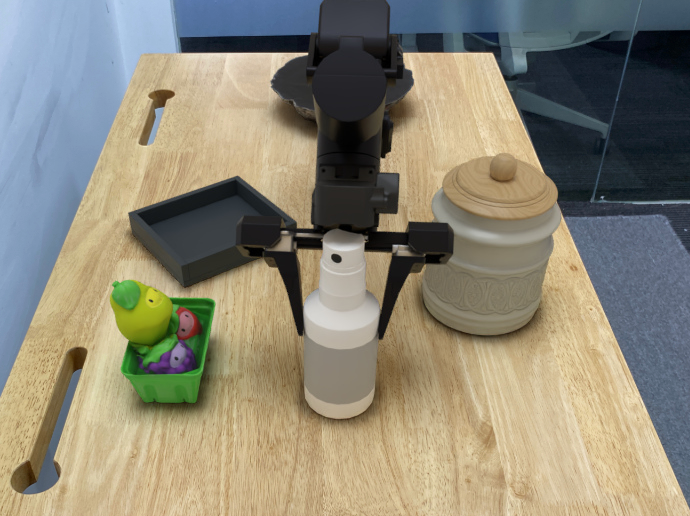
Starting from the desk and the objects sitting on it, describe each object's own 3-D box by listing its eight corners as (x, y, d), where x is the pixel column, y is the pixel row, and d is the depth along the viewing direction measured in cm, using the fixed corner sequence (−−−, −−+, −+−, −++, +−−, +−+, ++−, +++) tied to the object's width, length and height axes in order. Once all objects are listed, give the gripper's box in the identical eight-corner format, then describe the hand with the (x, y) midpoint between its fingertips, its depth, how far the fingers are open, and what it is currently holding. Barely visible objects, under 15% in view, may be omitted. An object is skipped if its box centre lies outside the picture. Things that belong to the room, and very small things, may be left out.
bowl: (417, 142, 112) (420, 109, 109) (267, 141, 112) (265, 107, 109) (406, 80, 128) (409, 49, 125) (275, 79, 128) (274, 47, 125)
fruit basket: (207, 413, 73) (194, 322, 66) (115, 412, 74) (91, 320, 66) (221, 335, 82) (211, 246, 74) (137, 334, 82) (118, 244, 74)
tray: (239, 195, 102) (238, 175, 100) (297, 243, 94) (297, 221, 92) (131, 233, 95) (127, 212, 93) (184, 287, 88) (181, 266, 85)
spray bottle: (293, 408, 74) (288, 252, 61) (319, 364, 78) (320, 209, 66) (360, 428, 72) (369, 271, 60) (383, 381, 77) (396, 226, 64)
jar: (418, 264, 91) (434, 122, 79) (529, 268, 90) (562, 125, 78) (422, 336, 82) (441, 187, 69) (546, 341, 81) (587, 191, 69)
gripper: (229, 128, 61) (220, 325, 61) (467, 135, 60) (458, 335, 60) (248, 169, 72) (240, 336, 72) (449, 176, 71) (441, 344, 71)
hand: (340, 337), depth 68 cm, fingers closed on spray bottle, 7 cm apart
